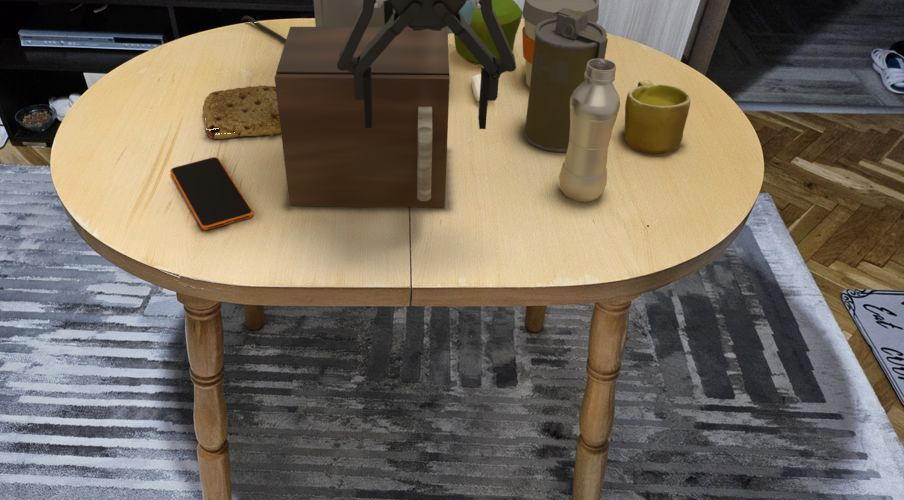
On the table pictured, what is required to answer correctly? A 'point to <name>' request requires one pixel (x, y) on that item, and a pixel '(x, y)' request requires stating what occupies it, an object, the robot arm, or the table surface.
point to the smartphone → (211, 193)
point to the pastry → (242, 112)
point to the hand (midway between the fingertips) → (425, 123)
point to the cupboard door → (364, 140)
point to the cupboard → (401, 57)
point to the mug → (655, 117)
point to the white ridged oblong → (476, 85)
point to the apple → (508, 20)
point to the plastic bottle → (590, 132)
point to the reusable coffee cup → (540, 8)
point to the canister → (559, 74)
